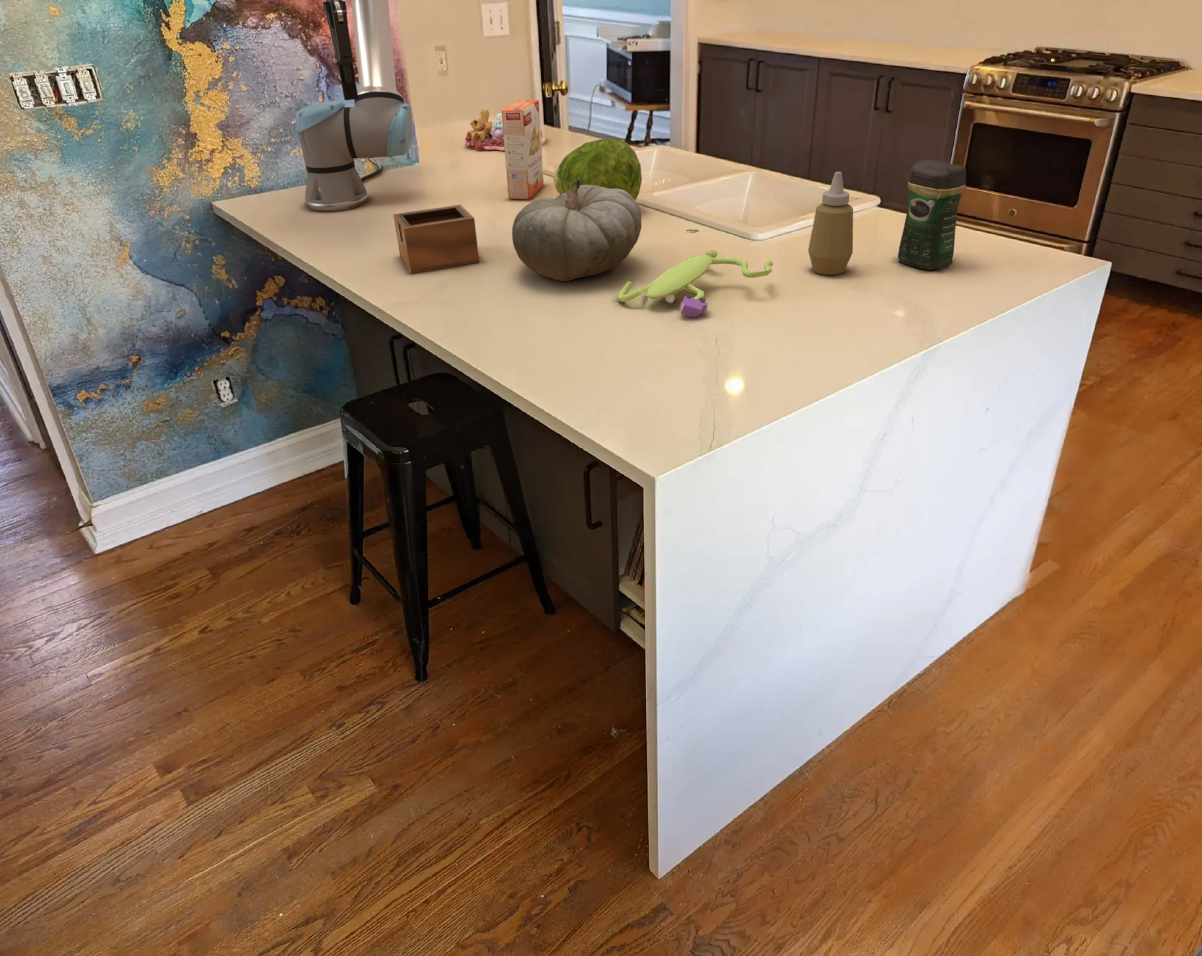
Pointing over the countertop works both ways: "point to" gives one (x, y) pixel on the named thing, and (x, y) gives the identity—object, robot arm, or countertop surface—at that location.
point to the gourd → (577, 232)
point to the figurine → (688, 281)
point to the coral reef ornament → (488, 133)
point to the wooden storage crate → (436, 238)
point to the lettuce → (601, 167)
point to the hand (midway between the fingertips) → (351, 99)
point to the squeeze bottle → (832, 231)
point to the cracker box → (523, 148)
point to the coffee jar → (931, 214)
